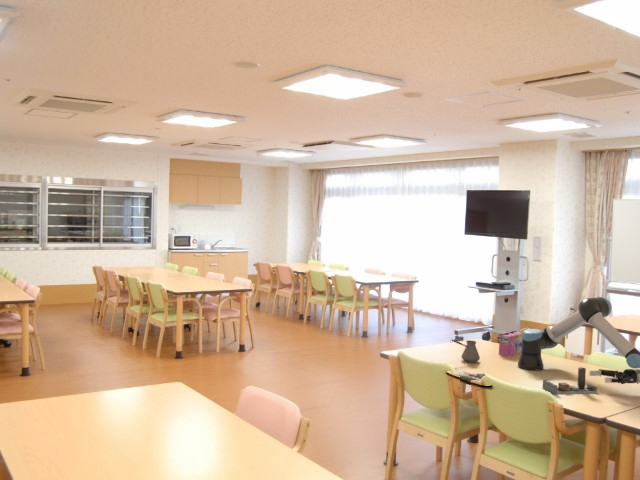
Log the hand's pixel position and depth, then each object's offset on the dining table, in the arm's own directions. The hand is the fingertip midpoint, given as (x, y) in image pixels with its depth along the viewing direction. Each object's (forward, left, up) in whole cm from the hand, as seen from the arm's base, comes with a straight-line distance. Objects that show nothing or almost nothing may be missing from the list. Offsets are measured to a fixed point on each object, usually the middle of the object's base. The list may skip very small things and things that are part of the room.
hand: (597, 376), depth 319 cm
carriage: (-9, -5, -7) cm, 13 cm away
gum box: (-49, +78, -9) cm, 93 cm away
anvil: (-24, -13, -8) cm, 28 cm away
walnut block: (-17, -9, -8) cm, 21 cm away
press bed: (-13, -7, -9) cm, 17 cm away
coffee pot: (-75, +36, -9) cm, 84 cm away
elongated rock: (-67, -6, -10) cm, 68 cm away
